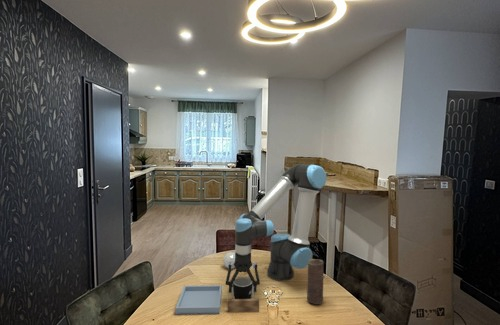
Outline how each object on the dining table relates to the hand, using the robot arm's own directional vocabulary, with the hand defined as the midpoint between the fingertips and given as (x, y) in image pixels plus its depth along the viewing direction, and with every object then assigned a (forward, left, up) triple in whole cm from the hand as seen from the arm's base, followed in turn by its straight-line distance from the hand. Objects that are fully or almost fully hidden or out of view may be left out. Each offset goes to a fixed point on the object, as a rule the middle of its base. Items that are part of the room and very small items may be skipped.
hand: (242, 298), depth 129 cm
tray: (+20, 0, -1) cm, 20 cm away
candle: (-34, +2, -1) cm, 34 cm away
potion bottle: (+6, -38, -1) cm, 39 cm away
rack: (0, 0, -1) cm, 1 cm away
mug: (0, 0, -1) cm, 1 cm away
